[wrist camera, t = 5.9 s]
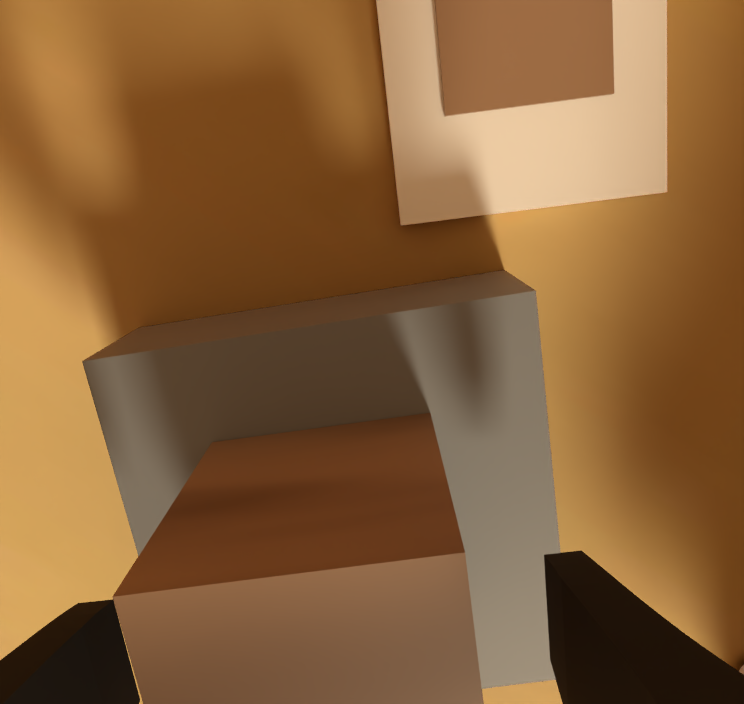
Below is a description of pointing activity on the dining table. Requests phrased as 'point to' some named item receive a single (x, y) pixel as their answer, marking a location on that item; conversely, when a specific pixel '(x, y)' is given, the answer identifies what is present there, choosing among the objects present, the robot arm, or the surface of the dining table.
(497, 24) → the card
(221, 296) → the dining table surface
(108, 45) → the dining table surface
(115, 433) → the base block
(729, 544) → the dining table surface
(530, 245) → the dining table surface
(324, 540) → the walnut block
